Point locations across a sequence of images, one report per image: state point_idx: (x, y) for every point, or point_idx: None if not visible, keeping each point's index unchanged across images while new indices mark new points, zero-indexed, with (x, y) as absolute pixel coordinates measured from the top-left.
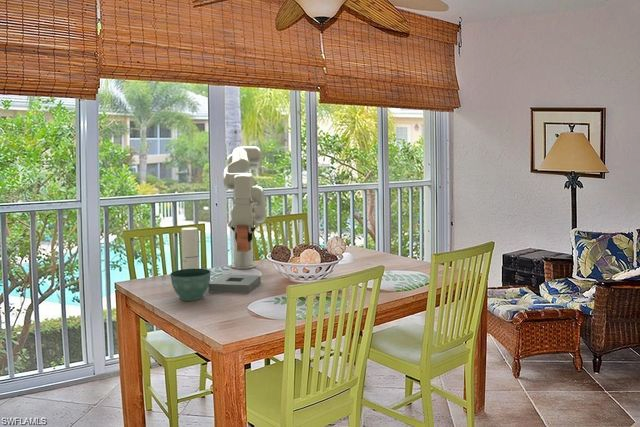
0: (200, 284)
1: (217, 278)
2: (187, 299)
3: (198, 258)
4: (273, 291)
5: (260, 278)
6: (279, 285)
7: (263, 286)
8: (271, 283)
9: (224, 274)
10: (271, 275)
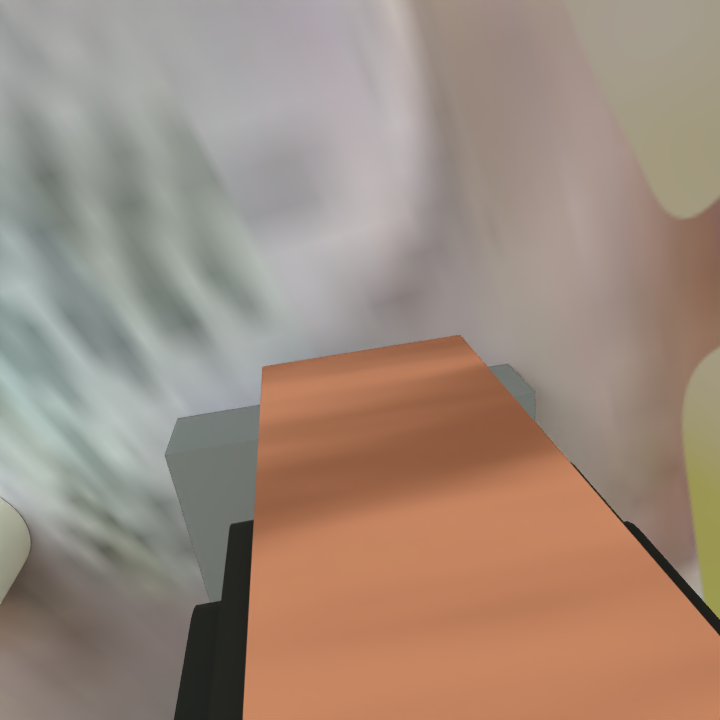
0: None
1: (218, 585)
2: None
3: None
4: (645, 522)
5: (524, 383)
6: (662, 380)
7: (554, 440)
8: (593, 345)
9: (193, 458)
10: (526, 41)
